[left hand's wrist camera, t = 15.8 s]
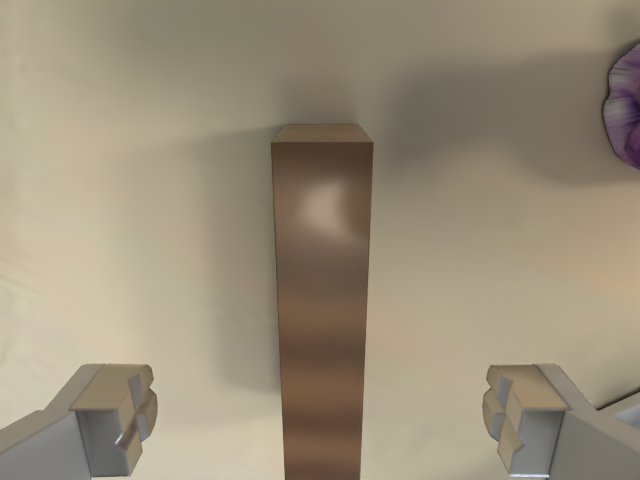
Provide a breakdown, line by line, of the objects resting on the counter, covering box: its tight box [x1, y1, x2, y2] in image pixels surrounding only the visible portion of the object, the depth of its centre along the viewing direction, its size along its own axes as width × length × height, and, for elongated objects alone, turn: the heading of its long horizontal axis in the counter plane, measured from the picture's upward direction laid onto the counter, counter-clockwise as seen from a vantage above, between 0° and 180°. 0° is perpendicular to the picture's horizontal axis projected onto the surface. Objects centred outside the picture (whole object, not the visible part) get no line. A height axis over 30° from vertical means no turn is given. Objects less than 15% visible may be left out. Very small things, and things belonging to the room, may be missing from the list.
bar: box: [271, 124, 373, 480], centre depth 30 cm, size 24×5×9 cm, turn 0°
